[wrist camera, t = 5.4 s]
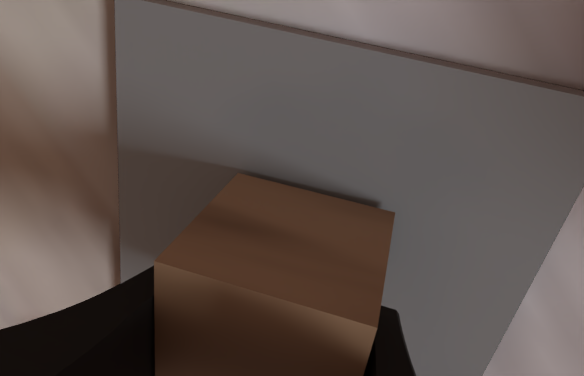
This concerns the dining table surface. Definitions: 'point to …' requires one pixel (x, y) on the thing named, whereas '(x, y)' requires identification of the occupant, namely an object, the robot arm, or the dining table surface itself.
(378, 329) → the robot arm
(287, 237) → the walnut cube
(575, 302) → the dining table surface
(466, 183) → the slate trivet
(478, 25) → the dining table surface
